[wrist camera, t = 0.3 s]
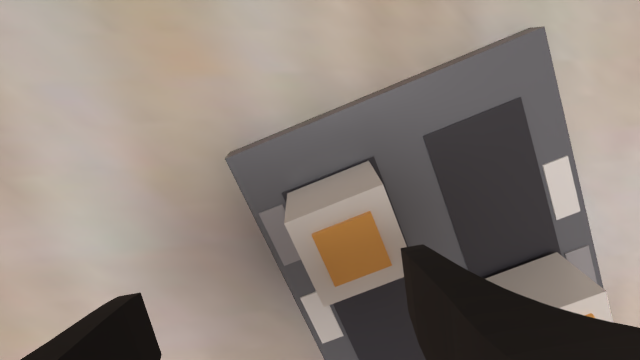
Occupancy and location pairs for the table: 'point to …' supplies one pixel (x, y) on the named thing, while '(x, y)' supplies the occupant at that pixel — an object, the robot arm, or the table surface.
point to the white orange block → (345, 233)
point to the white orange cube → (557, 286)
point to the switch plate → (433, 183)
